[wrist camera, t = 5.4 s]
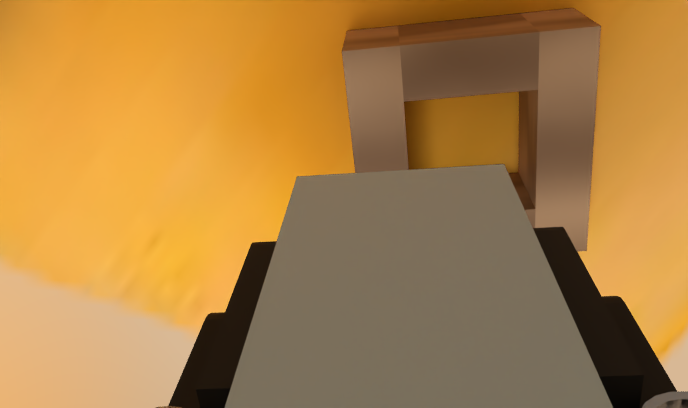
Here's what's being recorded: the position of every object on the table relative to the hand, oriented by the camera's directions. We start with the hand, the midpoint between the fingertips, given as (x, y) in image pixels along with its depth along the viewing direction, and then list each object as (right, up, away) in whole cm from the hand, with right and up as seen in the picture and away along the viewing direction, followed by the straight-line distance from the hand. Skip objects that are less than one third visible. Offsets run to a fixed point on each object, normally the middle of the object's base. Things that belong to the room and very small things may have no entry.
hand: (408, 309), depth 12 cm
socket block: (+4, +6, +19) cm, 21 cm away
